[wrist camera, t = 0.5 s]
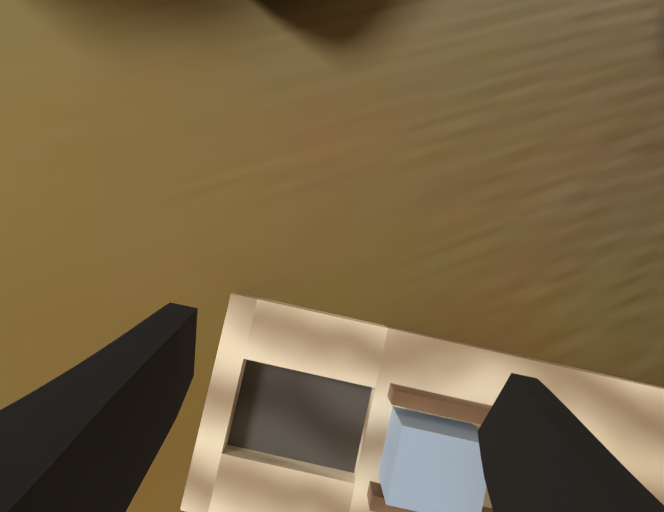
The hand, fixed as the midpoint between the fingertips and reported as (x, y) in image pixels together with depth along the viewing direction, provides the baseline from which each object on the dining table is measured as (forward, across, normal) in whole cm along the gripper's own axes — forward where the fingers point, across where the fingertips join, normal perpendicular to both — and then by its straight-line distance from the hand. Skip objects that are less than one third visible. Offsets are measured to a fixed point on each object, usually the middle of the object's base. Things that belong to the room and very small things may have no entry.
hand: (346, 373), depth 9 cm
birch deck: (+15, -11, +19) cm, 27 cm away
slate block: (+13, -10, +18) cm, 24 cm away
